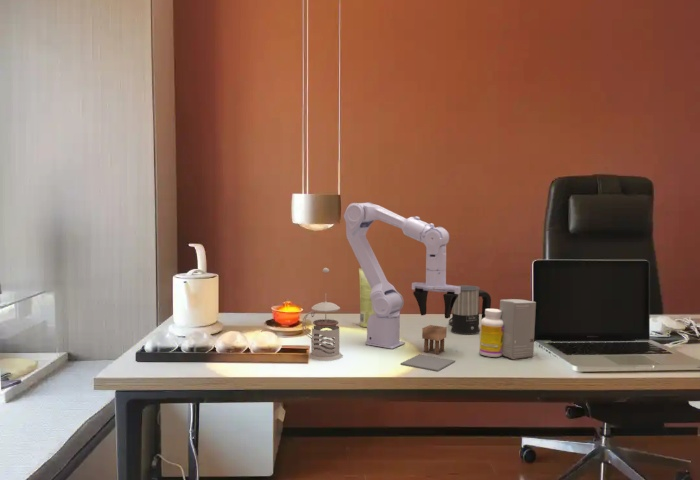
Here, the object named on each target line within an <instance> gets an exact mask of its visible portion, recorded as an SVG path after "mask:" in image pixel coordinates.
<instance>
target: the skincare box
mask: <svg viewBox="0 0 700 480" xmlns="http://www.w3.org/2000/svg"><path fill="white" fill-rule="evenodd" d="M536 309H537V302H536V301H531V300H527V299H521V298H519V299H516V298H513V299H512V298H509V299H508V298H507V299H500V300H499V310H500V311H502V315H501V320H502V321H503V323H504V329H503V344H502V356H503V357H505V358H509V359H511V360H516V359H525V358H530V357H534V349H535V348H534V347H535V328H536V327H535V326H536Z"/></svg>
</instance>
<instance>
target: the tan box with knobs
mask: <svg viewBox="0 0 700 480" xmlns="http://www.w3.org/2000/svg"><path fill="white" fill-rule="evenodd" d="M447 328H448V327H447V326H441V325H440V326H439V325H432V324H429V325H426V326H425V327H422V330H421V331H422V334H421V335H422V337H421V338H422V339H424V340H423V342H424V345H423V352H424V353H429V350H430V351H433V350H434V354H435V355H439V354H440V353H441V352H445V339H446V338H447V336H448V335H447V331H448V329H447Z"/></svg>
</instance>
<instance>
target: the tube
mask: <svg viewBox="0 0 700 480" xmlns="http://www.w3.org/2000/svg"><path fill="white" fill-rule="evenodd" d="M358 273H359V274H358V275H359V276H358V277H359V311H360V312H359V314H360V316H359V318H360V319H359V324H360V327H363V328H367V322H368V318H369V316H370V315H372V314H375V312H374V311H373V308H372V300H371V298H370V293H371V287H370V285H369V283H368V281H367V279H366V277H365V275H364V272H363V270H362V268H358Z"/></svg>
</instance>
